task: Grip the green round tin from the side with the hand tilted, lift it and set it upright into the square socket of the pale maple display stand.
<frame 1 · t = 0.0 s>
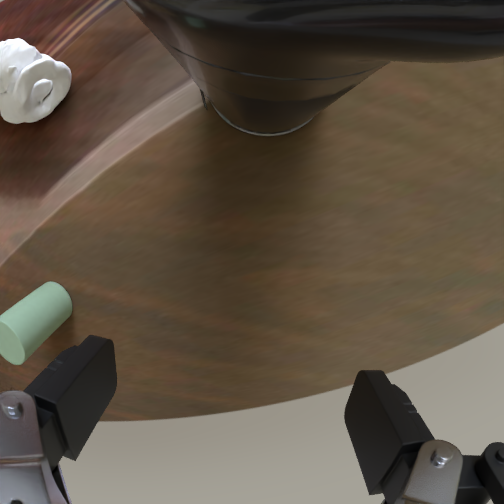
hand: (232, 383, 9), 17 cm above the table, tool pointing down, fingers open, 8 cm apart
green round tin: (56, 300, 28), on the table
baby figurine: (32, 86, 22), on the table
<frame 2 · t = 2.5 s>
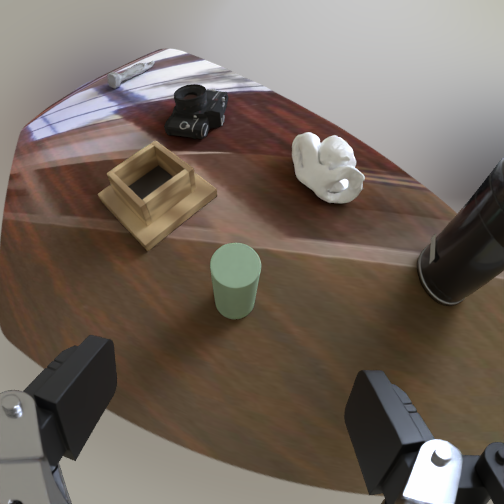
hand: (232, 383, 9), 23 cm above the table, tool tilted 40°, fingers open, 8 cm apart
green round tin: (234, 300, 35), on the table
film camera: (199, 119, 50), on the table
display stand: (156, 197, 41), on the table
baby figurine: (319, 179, 45), on the table
figurine: (134, 76, 58), on the table
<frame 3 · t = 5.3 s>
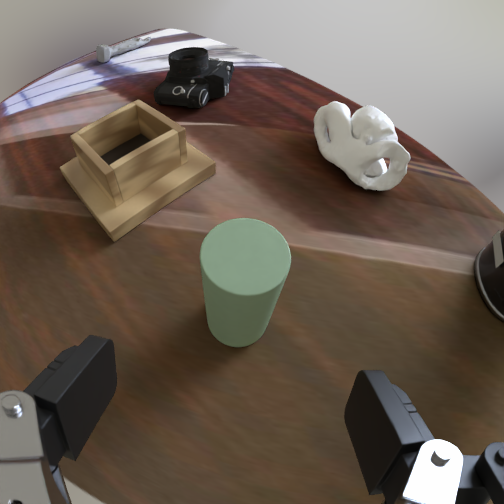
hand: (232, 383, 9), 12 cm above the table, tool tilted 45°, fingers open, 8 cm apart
green round tin: (237, 318, 23), on the table
film camera: (198, 90, 40), on the table
display stand: (133, 173, 30), on the table
baby figurine: (349, 161, 34), on the table
figurine: (126, 52, 48), on the table
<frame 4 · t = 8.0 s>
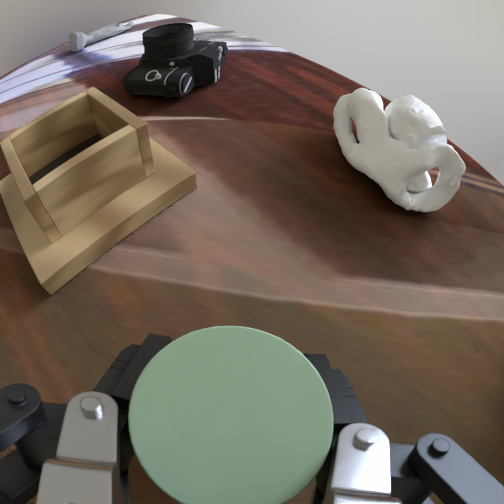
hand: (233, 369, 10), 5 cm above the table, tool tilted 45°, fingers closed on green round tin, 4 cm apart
green round tin: (226, 424, 13), on the table, touching gripper
film camera: (181, 77, 30), on the table
display stand: (85, 189, 20), on the table
baby figurine: (381, 169, 24), on the table
figurine: (105, 39, 39), on the table
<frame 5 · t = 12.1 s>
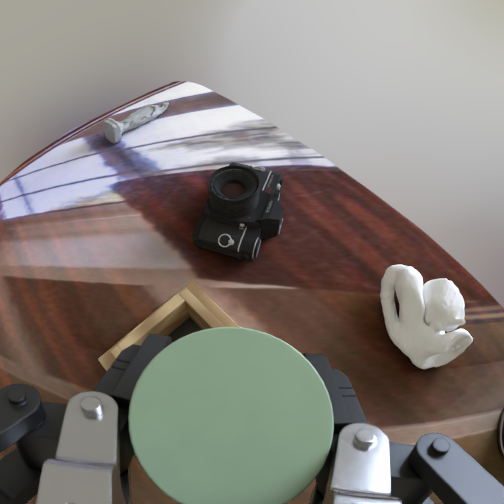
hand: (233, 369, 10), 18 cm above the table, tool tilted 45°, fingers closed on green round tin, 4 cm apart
green round tin: (226, 425, 13), point 13 cm above the table, touching gripper
film camera: (242, 217, 37), on the table
display stand: (189, 370, 27), on the table
baby figurine: (410, 328, 31), on the table
figurine: (140, 124, 45), on the table
when the fingers open (7 cm above the table, at t = 16.3 s): green round tin stays where it is, resting on display stand.
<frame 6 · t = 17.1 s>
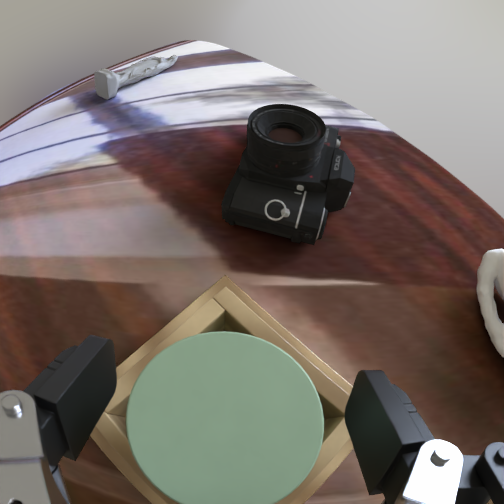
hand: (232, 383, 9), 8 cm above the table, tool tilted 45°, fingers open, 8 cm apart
green round tin: (223, 426, 13), point 2 cm above the table, touching display stand
film camera: (288, 183, 25), on the table
display stand: (225, 424, 15), on the table
figurine: (142, 79, 34), on the table
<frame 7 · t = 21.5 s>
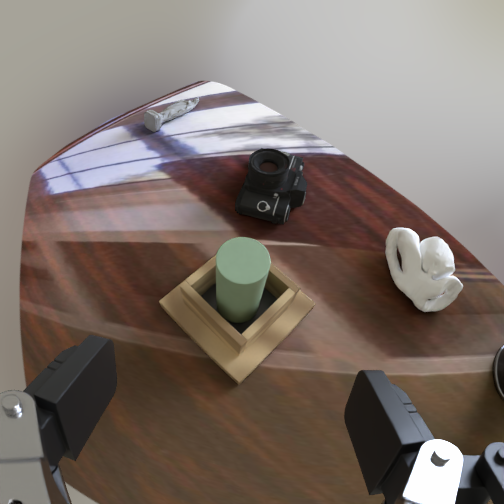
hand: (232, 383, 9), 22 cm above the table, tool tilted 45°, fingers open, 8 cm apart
green round tin: (237, 303, 33), point 2 cm above the table, touching display stand
film camera: (271, 191, 44), on the table
display stand: (237, 308, 34), on the table
baby figurine: (411, 280, 38), on the table
figurine: (175, 116, 53), on the table
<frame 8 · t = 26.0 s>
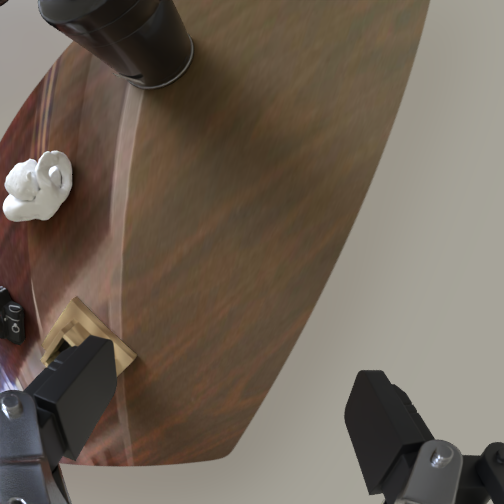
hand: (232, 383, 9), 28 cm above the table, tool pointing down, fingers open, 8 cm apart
film camera: (3, 307, 40), on the table
display stand: (87, 348, 40), on the table
baby figurine: (47, 190, 36), on the table
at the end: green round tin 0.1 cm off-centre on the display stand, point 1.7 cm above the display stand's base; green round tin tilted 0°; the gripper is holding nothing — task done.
